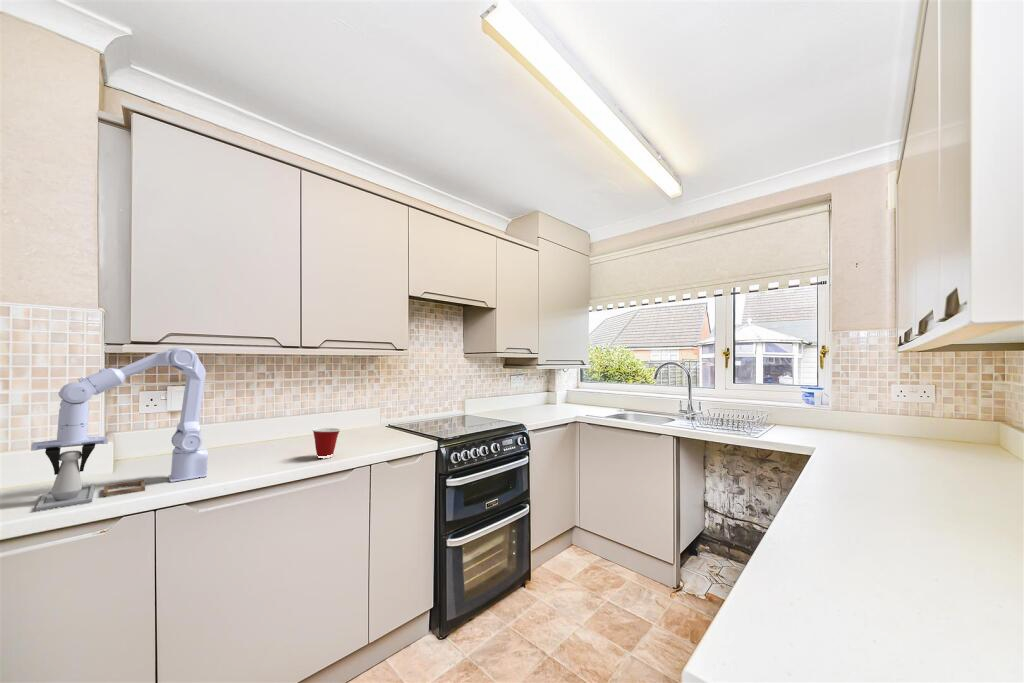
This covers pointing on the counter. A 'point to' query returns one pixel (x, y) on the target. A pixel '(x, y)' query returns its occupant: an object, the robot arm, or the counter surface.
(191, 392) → the robot arm
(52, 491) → the salt shaker
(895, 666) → the counter surface
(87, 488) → the grey tray
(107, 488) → the walnut collar
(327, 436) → the plastic cup
